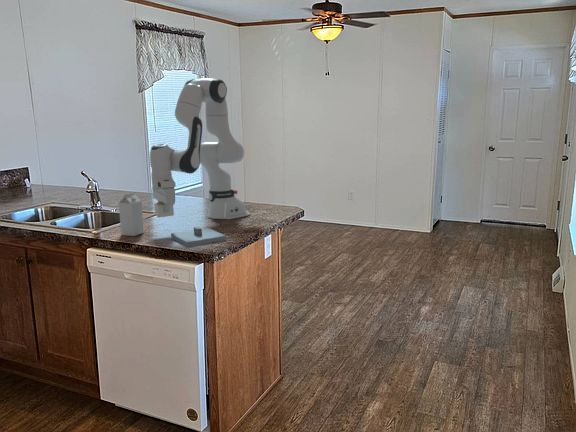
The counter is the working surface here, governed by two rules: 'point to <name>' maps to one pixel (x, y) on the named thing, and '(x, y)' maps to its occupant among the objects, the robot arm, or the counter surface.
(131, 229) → the milk carton
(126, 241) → the counter surface
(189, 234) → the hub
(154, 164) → the robot arm
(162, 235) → the counter surface
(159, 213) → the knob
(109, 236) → the counter surface
